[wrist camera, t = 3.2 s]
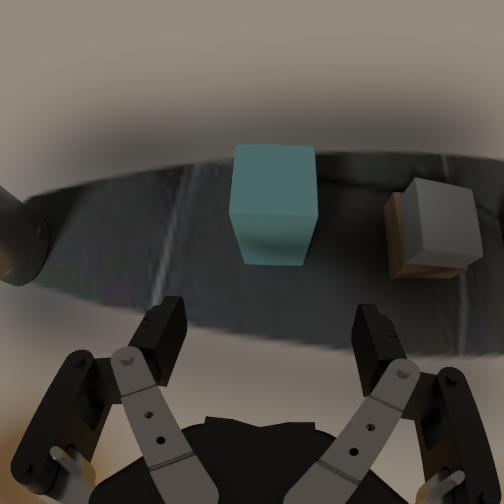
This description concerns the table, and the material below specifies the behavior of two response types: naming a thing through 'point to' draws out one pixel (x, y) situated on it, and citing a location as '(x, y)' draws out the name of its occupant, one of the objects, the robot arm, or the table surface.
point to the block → (274, 202)
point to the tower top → (440, 225)
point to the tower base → (397, 247)
